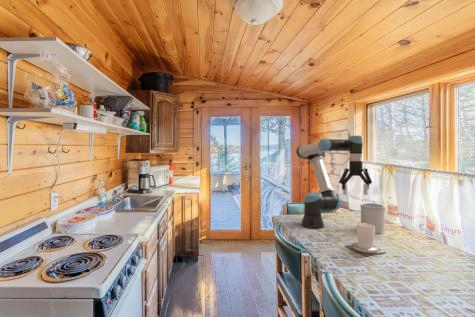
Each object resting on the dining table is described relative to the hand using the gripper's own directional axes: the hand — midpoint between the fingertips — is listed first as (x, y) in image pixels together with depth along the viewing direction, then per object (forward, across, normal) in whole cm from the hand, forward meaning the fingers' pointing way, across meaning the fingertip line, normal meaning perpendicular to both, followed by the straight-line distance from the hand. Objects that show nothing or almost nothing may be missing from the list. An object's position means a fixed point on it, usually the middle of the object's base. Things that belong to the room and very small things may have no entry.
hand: (355, 194), depth 153 cm
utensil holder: (+27, +20, +12) cm, 35 cm away
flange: (+27, -5, -19) cm, 33 cm away
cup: (+25, -5, -19) cm, 32 cm away
